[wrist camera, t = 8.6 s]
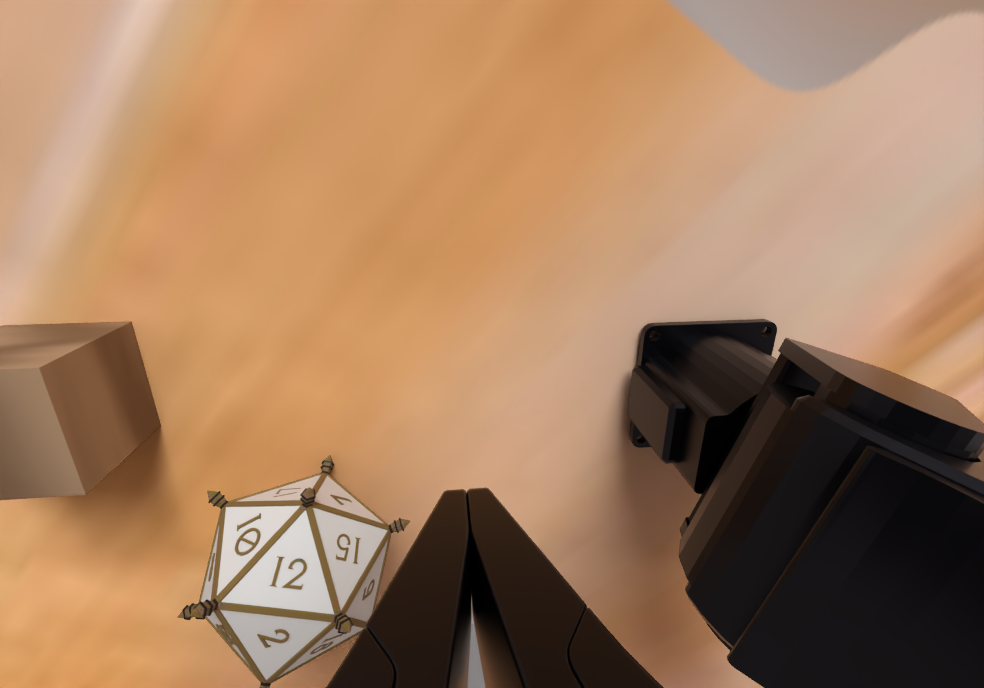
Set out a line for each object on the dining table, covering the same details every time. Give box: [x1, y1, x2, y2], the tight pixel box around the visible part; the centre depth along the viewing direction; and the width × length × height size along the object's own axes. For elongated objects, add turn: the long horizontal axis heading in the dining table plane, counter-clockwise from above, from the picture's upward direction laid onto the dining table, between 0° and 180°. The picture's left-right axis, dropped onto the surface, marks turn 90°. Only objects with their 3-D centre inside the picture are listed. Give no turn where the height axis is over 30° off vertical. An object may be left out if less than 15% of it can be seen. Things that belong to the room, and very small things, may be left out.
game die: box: [178, 456, 410, 688], centre depth 20 cm, size 9×8×10 cm
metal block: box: [0, 322, 161, 500], centre depth 18 cm, size 5×5×5 cm
